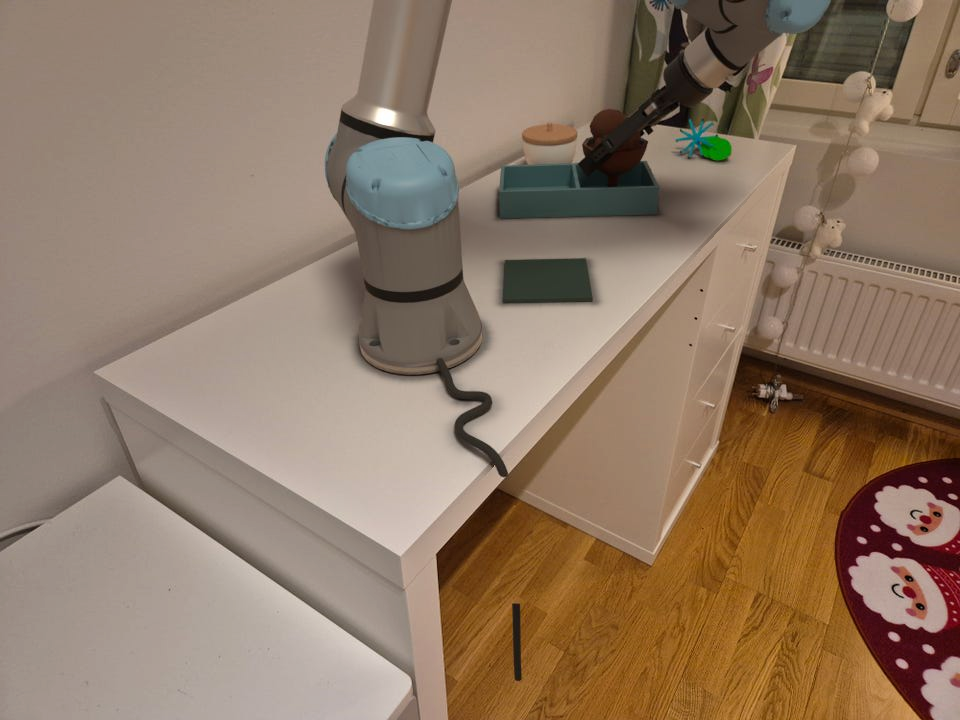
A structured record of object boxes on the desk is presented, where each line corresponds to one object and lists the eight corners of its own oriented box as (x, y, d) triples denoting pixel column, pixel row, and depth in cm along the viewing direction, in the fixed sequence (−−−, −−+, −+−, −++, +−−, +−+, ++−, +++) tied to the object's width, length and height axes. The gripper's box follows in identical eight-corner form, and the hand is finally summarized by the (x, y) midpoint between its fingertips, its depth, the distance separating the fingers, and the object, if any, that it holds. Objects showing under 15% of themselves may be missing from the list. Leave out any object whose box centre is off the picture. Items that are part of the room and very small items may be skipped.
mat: (592, 301, 88) (592, 297, 88) (503, 303, 89) (503, 299, 88) (585, 261, 98) (585, 257, 97) (505, 263, 99) (504, 259, 98)
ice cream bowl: (626, 212, 110) (633, 120, 102) (569, 200, 116) (571, 112, 108) (654, 192, 117) (662, 104, 109) (598, 182, 123) (602, 98, 114)
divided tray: (656, 214, 111) (659, 186, 108) (499, 218, 113) (499, 191, 110) (644, 186, 122) (646, 160, 119) (501, 190, 124) (501, 165, 121)
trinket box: (513, 176, 130) (512, 128, 125) (535, 160, 138) (535, 113, 132) (564, 182, 126) (565, 132, 120) (583, 165, 133) (585, 117, 128)
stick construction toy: (666, 144, 135) (689, 109, 133) (673, 155, 141) (695, 122, 139) (717, 170, 130) (741, 135, 128) (721, 180, 136) (745, 147, 134)
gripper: (685, 109, 90) (580, 198, 107) (738, 75, 106) (639, 158, 122) (652, 65, 90) (552, 161, 107) (710, 37, 105) (615, 125, 122)
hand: (598, 160), depth 114 cm, fingers closed on ice cream bowl, 11 cm apart
